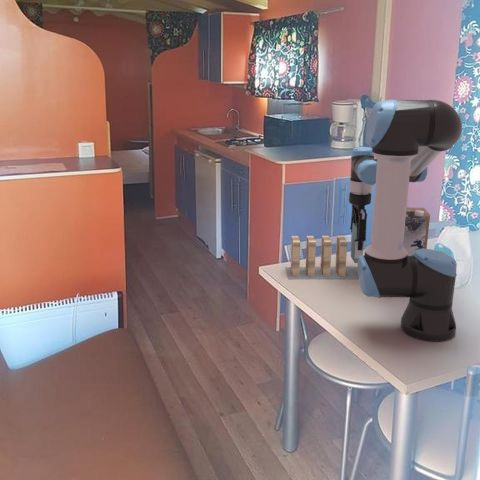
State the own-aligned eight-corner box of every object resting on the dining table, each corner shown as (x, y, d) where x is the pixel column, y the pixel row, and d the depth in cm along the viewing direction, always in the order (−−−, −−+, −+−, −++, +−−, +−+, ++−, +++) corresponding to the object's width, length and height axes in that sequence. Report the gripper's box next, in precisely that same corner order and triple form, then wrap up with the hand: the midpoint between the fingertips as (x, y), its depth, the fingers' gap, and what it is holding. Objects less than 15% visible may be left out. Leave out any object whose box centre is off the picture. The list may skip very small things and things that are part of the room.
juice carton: (392, 291, 189) (399, 213, 180) (392, 279, 198) (398, 205, 190) (420, 293, 187) (428, 215, 178) (418, 281, 196) (426, 207, 188)
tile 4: (345, 276, 200) (347, 241, 196) (338, 276, 200) (340, 241, 196) (341, 269, 207) (343, 235, 203) (335, 269, 207) (337, 235, 203)
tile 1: (299, 276, 200) (300, 242, 196) (292, 276, 200) (293, 242, 196) (297, 269, 207) (298, 236, 203) (290, 269, 207) (291, 236, 203)
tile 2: (314, 276, 200) (315, 242, 196) (307, 276, 200) (309, 242, 196) (312, 269, 207) (313, 236, 203) (305, 269, 207) (306, 236, 203)
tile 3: (329, 276, 200) (331, 241, 196) (323, 276, 200) (324, 242, 196) (326, 269, 207) (328, 235, 203) (320, 269, 207) (321, 235, 203)
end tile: (361, 263, 199) (363, 228, 195) (354, 263, 199) (356, 228, 195) (357, 256, 206) (359, 222, 202) (350, 256, 206) (352, 222, 202)
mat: (378, 279, 198) (378, 278, 198) (288, 280, 198) (288, 279, 198) (370, 267, 210) (370, 266, 210) (285, 268, 209) (285, 267, 209)
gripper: (378, 199, 185) (373, 264, 192) (364, 185, 204) (360, 245, 211) (355, 199, 185) (351, 264, 192) (344, 185, 204) (341, 245, 211)
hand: (356, 254), depth 202 cm, fingers closed on end tile, 7 cm apart
